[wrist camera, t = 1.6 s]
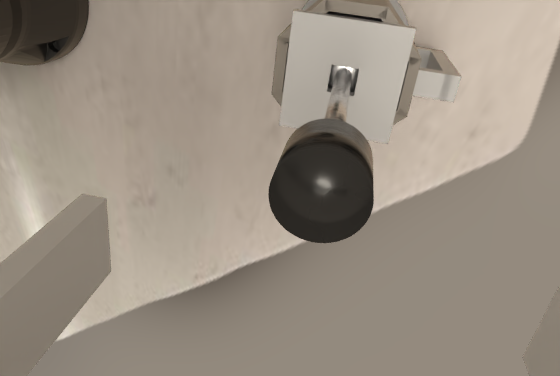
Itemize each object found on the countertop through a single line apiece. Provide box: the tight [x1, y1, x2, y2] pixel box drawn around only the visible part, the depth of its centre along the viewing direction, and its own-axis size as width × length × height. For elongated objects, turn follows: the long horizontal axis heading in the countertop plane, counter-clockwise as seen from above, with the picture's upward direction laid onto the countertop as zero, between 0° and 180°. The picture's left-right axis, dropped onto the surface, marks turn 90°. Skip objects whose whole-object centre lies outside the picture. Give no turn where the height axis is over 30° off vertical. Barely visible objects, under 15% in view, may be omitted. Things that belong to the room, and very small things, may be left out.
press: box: [272, 0, 461, 144], centre depth 41 cm, size 14×12×16 cm
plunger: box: [269, 65, 373, 243], centre depth 27 cm, size 8×8×20 cm
